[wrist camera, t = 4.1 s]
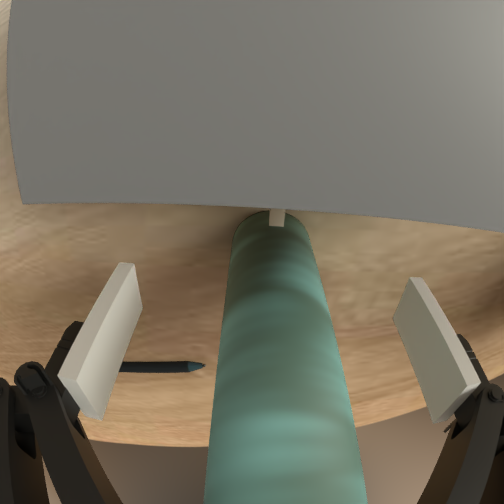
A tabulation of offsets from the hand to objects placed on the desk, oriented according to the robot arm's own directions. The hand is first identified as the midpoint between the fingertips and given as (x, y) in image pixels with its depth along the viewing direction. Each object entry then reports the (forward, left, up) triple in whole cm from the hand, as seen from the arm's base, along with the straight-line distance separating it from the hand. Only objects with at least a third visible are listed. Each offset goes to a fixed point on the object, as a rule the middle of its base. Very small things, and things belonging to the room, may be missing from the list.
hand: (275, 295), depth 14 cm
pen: (-12, -13, -5) cm, 18 cm away
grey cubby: (+3, +13, -4) cm, 14 cm away
